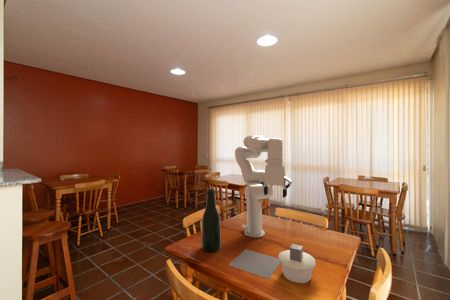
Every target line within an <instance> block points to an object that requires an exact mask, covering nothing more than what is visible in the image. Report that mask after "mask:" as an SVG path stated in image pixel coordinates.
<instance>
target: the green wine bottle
mask: <svg viewBox="0 0 450 300" xmlns="http://www.w3.org/2000/svg"><path fill="white" fill-rule="evenodd" d="M215 194H216V192H215V189H214V188H213V187H208V188H207V190H206V204H205V205H206V206H205V208H204V212H203V215H202V218H201V249H202V250H203V251H204V250H205V251H204V252H206V251H207V252H208V253H215V252H218V251H220V249H221V246H222V241H221V240H222V239H221V237H222V235H221V219H220V214H219V211H218V208H217V207H216V197H215V196H216V195H215ZM214 251H215V252H214ZM207 252H206V253H207Z"/></svg>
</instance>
